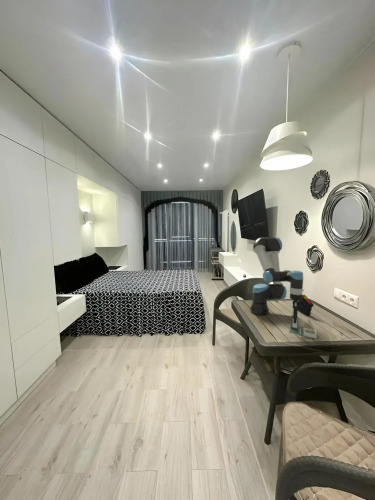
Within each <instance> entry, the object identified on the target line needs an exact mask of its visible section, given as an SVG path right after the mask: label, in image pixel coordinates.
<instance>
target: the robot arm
mask: <svg viewBox="0 0 375 500" xmlns="http://www.w3.org/2000/svg"><path fill="white" fill-rule="evenodd" d="M282 248H283V242H282V240H281V238H280V237H275V236H274V237H273V236H272V237H271V236H270V237H267V236H266V237H263V236H262V237H258V238H257V239H255V241H254V242H253V244H252V249H253V252H254V253H255V254H256V256H257V258H258V260H259V263H260V265H261V267H262V270H263V272H262V279H263V281H264V282H267V283H268V284H266V283H265V284H264V283H257V284H255V285H253V287H252V303H251V304H250V305H251V306H250V307H249V308H250V309H249V311H250V312H251V314H254V315H258V316H267V315H268V314H269V313H270V309H269V306H268V301H282V300H284V299H286V297H287V288H286V286H285V285H284V284H283V283H286V282H289V283H290V284H289V292H290V293H289V299H290V300H292V310H293V311H292V316H293V317H292V316H291V318H293V327H295V328H297V317H299V316H298V314H299V313H298V312H299V309H298V307H299V301H300V300H302V295H303V292H304V289H303V287H304V273H303V271H302V270H287V269H285V270H283V271H282V270H280V261H279V260H280V259H279V254H280V252H281V250H282ZM295 316H296V317H295Z"/></svg>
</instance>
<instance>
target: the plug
mask: <svg viewBox="0 0 375 500" xmlns="http://www.w3.org/2000/svg"><path fill="white" fill-rule="evenodd" d="M292 317H293V315H292V316H291V321H290V322H291V323H290V325H291V329H293V330H297V331H298V327H300V325H299V322H300V319H299V316H297V328H295V327H293V318H292ZM295 317H296V316H295Z"/></svg>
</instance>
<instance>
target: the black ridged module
mask: <svg viewBox="0 0 375 500" xmlns="http://www.w3.org/2000/svg"><path fill="white" fill-rule="evenodd" d="M312 308H314V303H313V302H312V301H311V300H310V299H309V298H308V296H306V295H305V294H302V300H300V301H299V307H298V309H299V311H298V312H299V313H301V314H303V315H304V316H308V317H309V316H311V315H312V313H311V312H312V311H313V310H312Z"/></svg>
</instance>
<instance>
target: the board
mask: <svg viewBox="0 0 375 500" xmlns="http://www.w3.org/2000/svg"><path fill="white" fill-rule="evenodd" d="M288 332H289V334H294V335H296V336H297V335H298V336H302V337H307V338H311V339H316V340H318V333H317V330H316V329H312V328H307V327H300V326H298V331H297V330H293V329H291V324H290V325H289V329H288Z"/></svg>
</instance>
